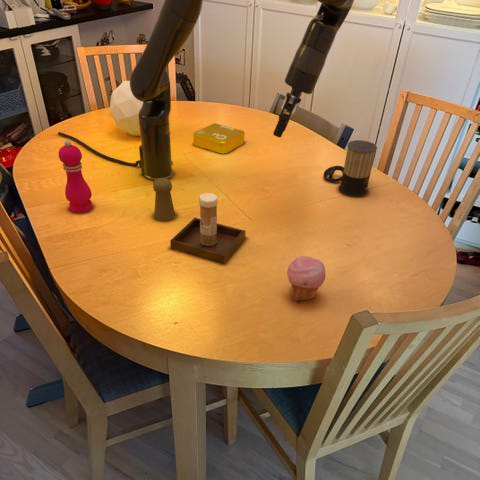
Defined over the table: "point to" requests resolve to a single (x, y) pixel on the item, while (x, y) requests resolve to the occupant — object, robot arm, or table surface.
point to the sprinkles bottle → (208, 219)
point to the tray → (219, 252)
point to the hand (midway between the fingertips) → (278, 133)
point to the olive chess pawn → (163, 200)
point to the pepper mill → (75, 179)
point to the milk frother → (355, 168)
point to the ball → (125, 109)
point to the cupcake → (305, 277)
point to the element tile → (219, 138)
